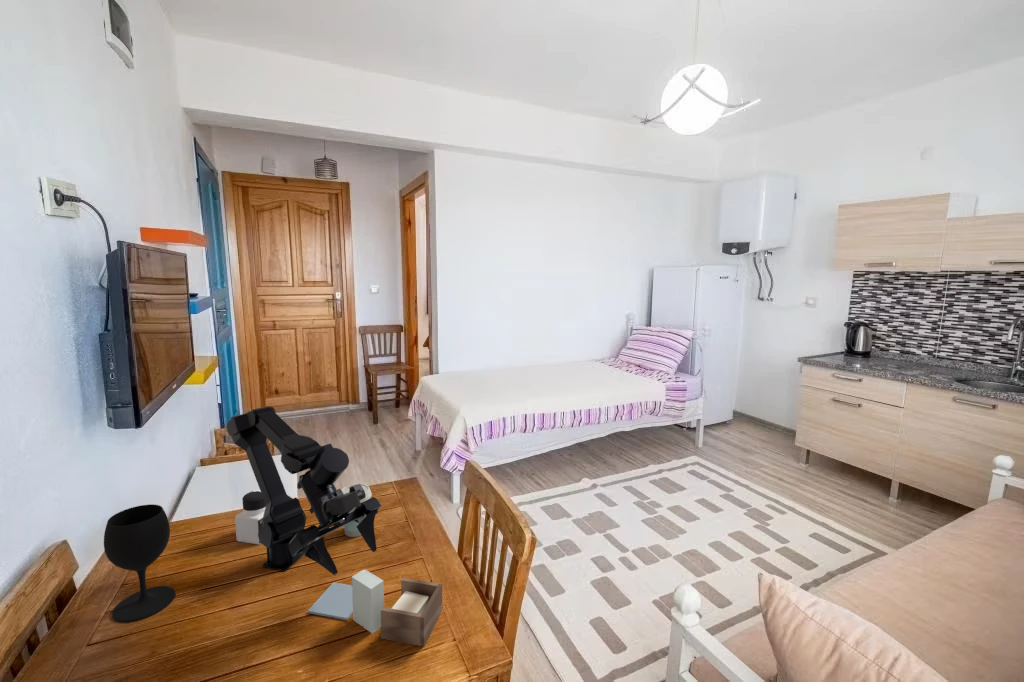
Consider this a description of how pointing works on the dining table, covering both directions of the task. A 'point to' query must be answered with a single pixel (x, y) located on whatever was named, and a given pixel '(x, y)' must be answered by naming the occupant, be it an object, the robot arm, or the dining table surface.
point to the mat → (335, 602)
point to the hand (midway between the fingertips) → (356, 561)
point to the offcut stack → (412, 602)
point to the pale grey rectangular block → (367, 600)
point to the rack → (413, 615)
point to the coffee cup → (351, 527)
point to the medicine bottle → (250, 518)
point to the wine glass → (138, 557)
